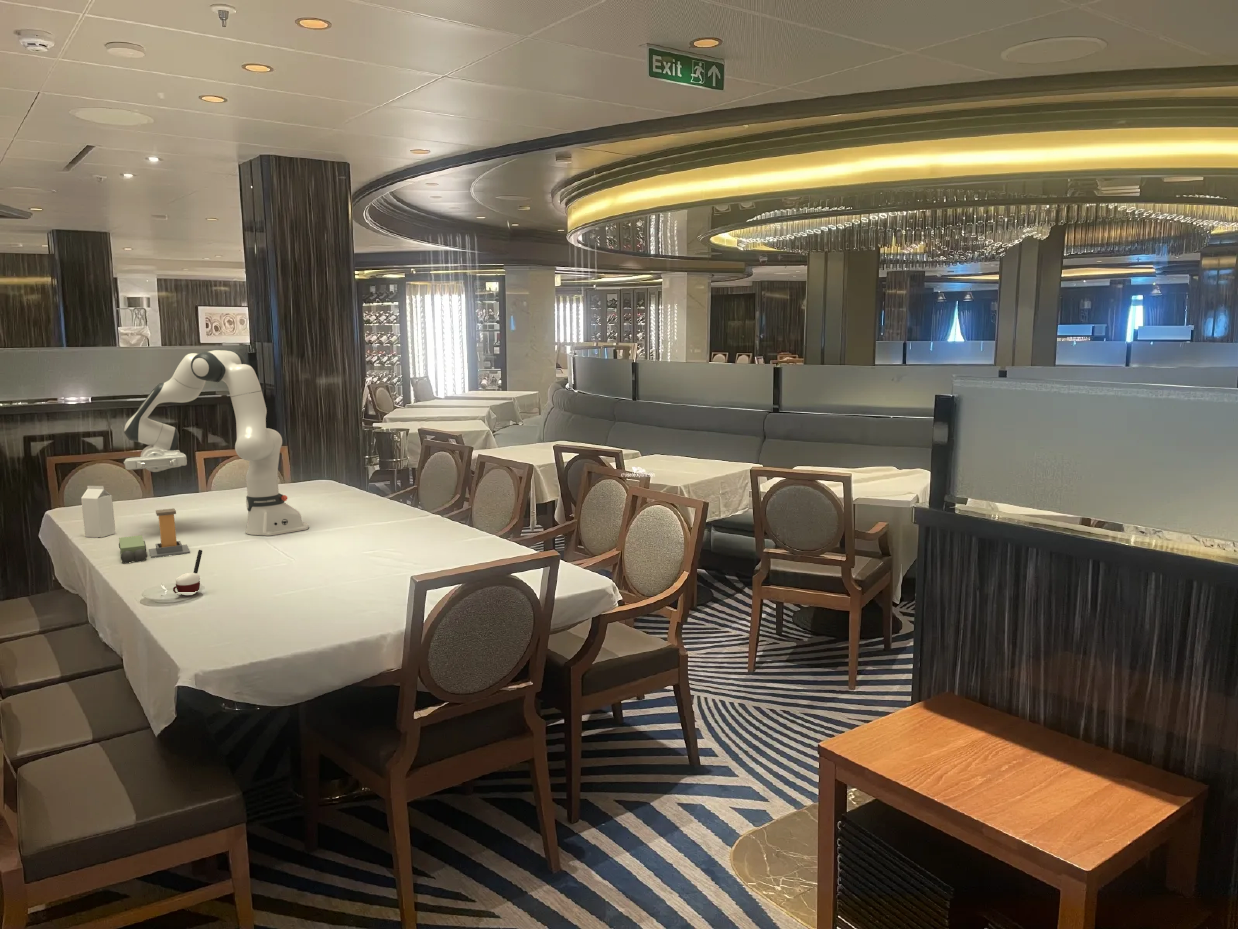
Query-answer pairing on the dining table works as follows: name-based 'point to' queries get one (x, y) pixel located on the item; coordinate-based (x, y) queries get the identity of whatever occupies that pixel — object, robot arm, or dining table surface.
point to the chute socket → (169, 550)
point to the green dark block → (132, 549)
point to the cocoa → (189, 579)
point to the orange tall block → (167, 527)
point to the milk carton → (98, 512)
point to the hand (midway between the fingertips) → (157, 464)
